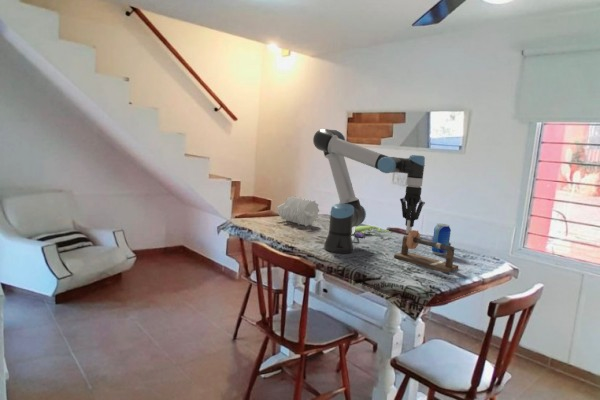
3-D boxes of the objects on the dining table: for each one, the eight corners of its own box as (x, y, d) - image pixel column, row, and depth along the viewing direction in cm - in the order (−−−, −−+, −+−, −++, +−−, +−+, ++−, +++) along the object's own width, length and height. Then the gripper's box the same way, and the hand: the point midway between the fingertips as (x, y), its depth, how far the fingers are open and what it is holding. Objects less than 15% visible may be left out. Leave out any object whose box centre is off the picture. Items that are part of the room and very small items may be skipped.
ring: (409, 249, 211) (411, 231, 210) (405, 248, 213) (407, 231, 212) (418, 247, 218) (420, 230, 216) (415, 246, 219) (417, 229, 218)
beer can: (439, 256, 227) (443, 226, 225) (427, 251, 235) (431, 223, 232) (450, 255, 231) (454, 226, 229) (439, 251, 239) (443, 223, 236)
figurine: (391, 238, 263) (392, 230, 262) (352, 238, 253) (353, 229, 253) (376, 232, 280) (377, 223, 279) (339, 231, 271) (340, 223, 270)
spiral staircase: (289, 225, 295) (316, 231, 277) (272, 216, 282) (299, 221, 265) (298, 201, 299) (325, 205, 281) (282, 190, 286) (309, 194, 269)
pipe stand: (446, 272, 196) (449, 248, 195) (394, 257, 216) (396, 235, 214) (458, 268, 205) (461, 245, 203) (406, 254, 224) (409, 233, 223)
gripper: (429, 187, 211) (424, 234, 215) (406, 184, 221) (401, 229, 224) (422, 188, 206) (416, 236, 209) (398, 184, 215) (393, 230, 218)
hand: (408, 232), depth 216 cm, fingers closed
